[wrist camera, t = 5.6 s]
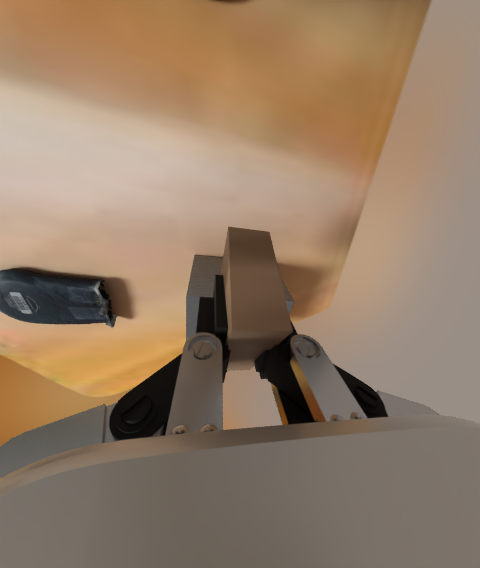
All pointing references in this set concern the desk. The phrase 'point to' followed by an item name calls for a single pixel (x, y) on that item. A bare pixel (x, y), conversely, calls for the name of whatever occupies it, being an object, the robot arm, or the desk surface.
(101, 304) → the electronic device
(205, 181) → the desk surface
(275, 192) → the desk surface
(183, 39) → the desk surface
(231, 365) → the block
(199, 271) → the slot box
